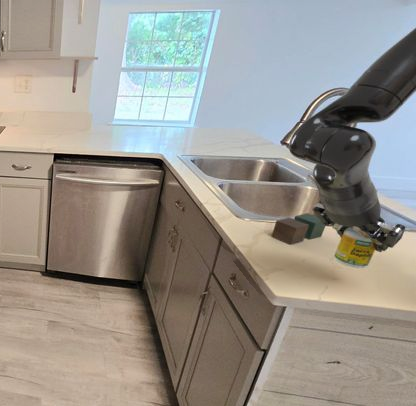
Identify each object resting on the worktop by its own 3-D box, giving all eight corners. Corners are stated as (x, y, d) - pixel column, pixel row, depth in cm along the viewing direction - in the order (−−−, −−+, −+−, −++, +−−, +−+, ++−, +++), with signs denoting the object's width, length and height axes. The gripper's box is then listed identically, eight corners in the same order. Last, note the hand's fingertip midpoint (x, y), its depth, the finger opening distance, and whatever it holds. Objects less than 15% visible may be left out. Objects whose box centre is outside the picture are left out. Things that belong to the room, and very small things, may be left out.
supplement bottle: (355, 256, 81) (373, 217, 77) (374, 270, 76) (393, 229, 72) (327, 254, 82) (342, 216, 78) (343, 267, 77) (361, 227, 73)
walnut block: (303, 241, 99) (309, 225, 97) (290, 244, 97) (296, 228, 95) (283, 233, 103) (289, 217, 101) (271, 236, 102) (276, 220, 100)
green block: (321, 236, 101) (327, 220, 99) (309, 239, 99) (315, 223, 97) (301, 228, 105) (307, 213, 103) (289, 231, 104) (295, 215, 102)
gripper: (414, 196, 63) (423, 243, 71) (318, 172, 75) (335, 215, 83) (383, 228, 63) (395, 272, 71) (293, 200, 76) (312, 239, 84)
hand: (363, 241), depth 77 cm, fingers closed on supplement bottle, 5 cm apart
